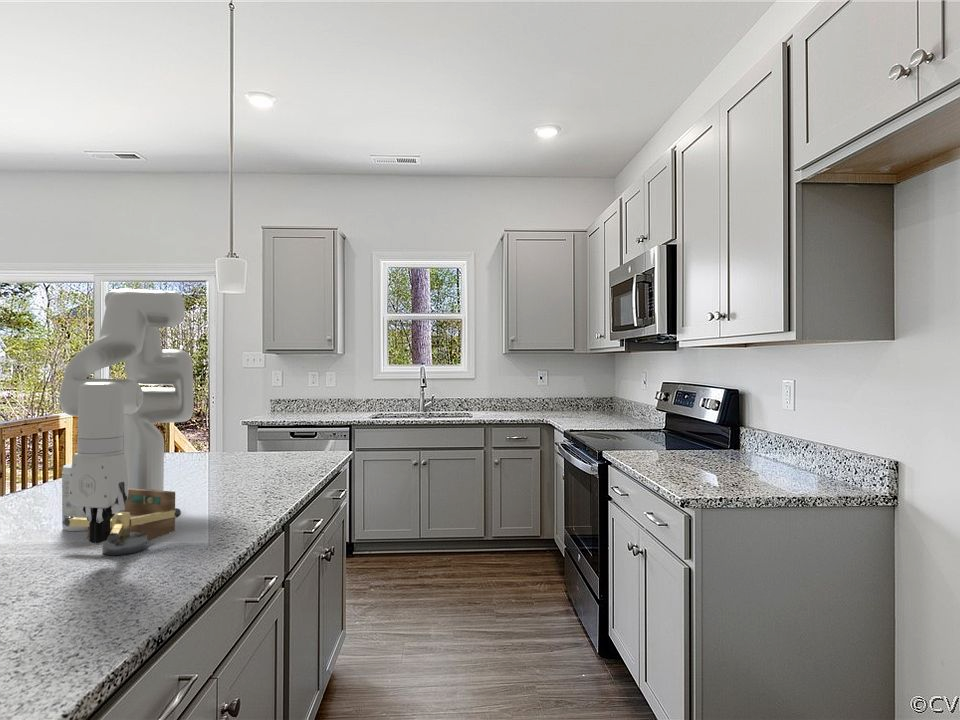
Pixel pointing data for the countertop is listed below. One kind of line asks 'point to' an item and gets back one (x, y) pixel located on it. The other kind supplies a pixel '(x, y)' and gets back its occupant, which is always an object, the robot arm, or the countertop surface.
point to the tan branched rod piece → (125, 531)
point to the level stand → (150, 511)
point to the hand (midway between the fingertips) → (99, 540)
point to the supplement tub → (67, 507)
